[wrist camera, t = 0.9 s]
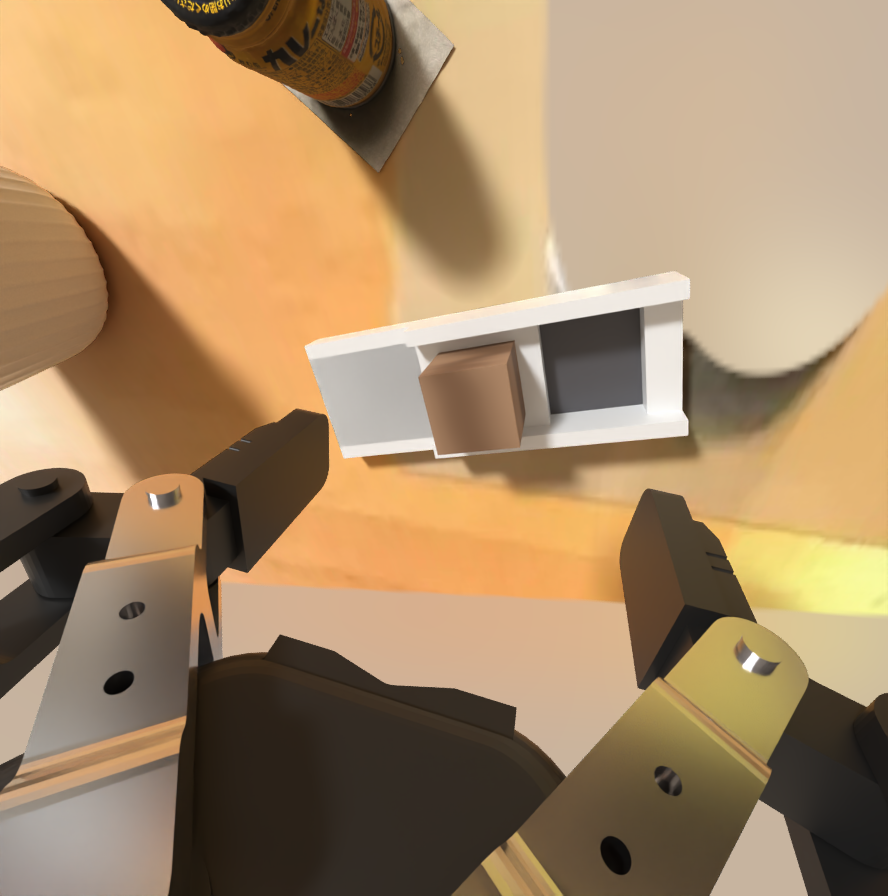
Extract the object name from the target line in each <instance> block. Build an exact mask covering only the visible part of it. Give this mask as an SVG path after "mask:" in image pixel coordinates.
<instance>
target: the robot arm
mask: <svg viewBox="0 0 888 896" xmlns="http://www.w3.org/2000/svg"><path fill="white" fill-rule="evenodd" d="M328 471H329V423H328V419H327V417H326V415H324V414H319V413H315V412H311V411H306V410H302V409H295V410H293V411H292V412H291V413H289V414H288V415H287V416H285V417H284V418H283V419H281V420H280V421H279V422H277V423H275V422H273V423H270V424H267V425H265V426H262V427H259V428H256V429H254V430H253V431H251V432H250V433H248V434H247V435H246V436H244V437H243V438H241V441H237V442H236V443H234V444H233V445H231V446H230V448H229V449H226V450H224V451H223V452H222V453H220V454H219V455H217V456H216V457H214V458H213V459H212V460H210V461H209V462H207V463H206V464H205V465H203V466H202V467H200V468H199V469H198V470H196V471H195V472H193V473H192V474H190V475H187V474H180V473H172V474H163V475H157V476H153V477H150V478H147V479H144V480H142V481H140V482H138V483H136V484H134V485H133V486H131V487H130V488H129V489H128V490H127V491H126V492H125V493H98V492H90V490H89V487H88V484H87V481H86V478H85V476H84V475H83V474H82V473H81V472H79V471H77V470H74V469H68V468H51V469H43V470H37V471H33V472H29V473H26V474H23V475H20V476H17V477H15V478H13V479H11V480H8V481H6V482H5V483H3V484H1V485H0V572H1V571H3V570H4V569H6V568H7V567H9V566H10V565H12V564H13V563H15V562H16V561H17V560H19V559H20V560H21V562H22V564H23V566H24V568H25V570H26V572H27V574H28V577H29V579H28V580H27V581H26V582H24V583H23V584H22V585H20V586H19V587H18V588H16V589H15V590H14V591H12V592H11V593H9V594H8V595H7V596H6V597H4V598H3V599H2V600H0V699H1V698H2V697H3V696H4V695H5V694H6V693H7V692H8V691H9V690H10V689H12V688H13V687H14V686H15V685H16V684H17V683H18V682H19V681H20V680H21V679H22V678H23V677H24V676H26V674H28V673H29V672H30V671H31V670H32V669H33V668H34V667H35V666H36V665H37V664H39V663H40V662H41V661H42V660H43V659H44V658H45V657H46V656H47V655H48V654H49V653H50V652H52V651H53V650H54V649H55V648H56V647H57V646H58V645H59V648H58V651H57V654H56V657H55V660H54V663H53V666H52V669H51V673H50V676H49V679H48V682H47V685H46V688H45V691H44V694H43V698H42V701H41V704H40V707H39V710H38V713H37V716H36V720H35V723H34V726H33V729H32V732H31V735H30V738H29V741H28V745H27V748H26V751H25V753H23V754H21V755H19V756H17V757H15V758H13V759H11V760H9V761H7V762H5V763H3V764H1V765H0V896H710V894H711V892H712V890H713V888H714V886H715V884H716V882H717V880H718V878H719V876H720V874H721V872H722V870H723V868H724V866H725V864H726V862H727V860H728V858H729V856H730V854H731V852H732V851H733V848H734V847H735V845H736V843H737V841H738V839H739V837H740V835H741V833H742V831H743V829H744V827H745V825H746V823H747V821H748V819H749V817H750V815H751V813H752V811H753V809H754V807H755V805H756V803H757V801H758V800H761V801H762V802H764V803H765V804H767V805H769V806H770V807H772V808H773V809H775V810H777V811H778V812H780V813H781V814H783V815H784V818H785V821H786V824H787V827H788V831H789V833H790V837H791V840H792V844H793V847H794V850H795V854H796V857H797V860H798V864H799V867H800V870H801V873H802V877H803V880H804V883H805V887H806V890H807V893H808V896H888V693H884V694H882V695H879V696H878V697H877V698H876V699H875V700H874V701H873V702H872V703H871V704H870V705H869V706H868V707H865V706H863V705H861V704H859V703H857V702H855V701H853V700H851V699H849V698H847V697H845V696H843V695H841V694H839V693H837V692H835V691H833V690H831V689H829V688H827V687H825V686H823V685H821V684H819V683H817V682H815V681H813V680H812V679H810V678H809V677H808V673H807V670H806V667H805V665H804V663H803V662H802V660H801V659H800V657H799V656H798V655H797V654H796V652H795V651H794V650H793V649H792V648H791V647H790V646H789V645H788V644H787V643H786V642H785V641H783V640H782V639H781V638H780V637H778V636H777V635H776V634H774V633H773V632H771V631H770V630H768V629H766V628H765V627H763V626H761V625H759V624H757V622H756V619H755V617H754V615H753V613H752V611H751V608H750V606H749V604H748V602H747V600H746V597H745V595H744V593H743V591H742V589H741V586H740V584H739V582H738V580H737V578H736V576H735V575H733V572H734V571H733V569H732V567H731V565H730V562H729V560H726V559H727V556H726V554H725V551H724V549H723V547H722V545H721V543H720V540H719V539H718V538H717V537H716V536H715V535H714V534H713V533H712V532H711V531H710V530H709V529H708V528H707V527H706V526H705V525H704V523H702V522H698V521H694V520H693V519H692V517H691V515H690V512H689V510H688V507H687V505H686V502H685V500H684V498H683V497H682V496H680V495H675V494H671V493H666V492H662V491H658V490H653V489H646V490H645V491H644V493H643V495H642V497H641V499H640V501H639V504H638V506H637V508H636V511H635V513H634V515H633V518H632V520H631V523H630V525H629V527H628V530H627V532H626V535H625V537H624V540H623V543H622V546H621V552H620V570H621V576H622V583H623V590H624V597H625V604H626V610H627V617H628V623H629V631H630V638H631V645H632V652H633V658H634V666H635V672H636V679H637V686H638V688H640V689H644V690H645V691H644V692H643V694H642V695H641V696H640V697H639V698H638V699H637V700H636V701H635V702H634V703H633V705H632V706H631V707H630V708H629V709H628V710H627V711H626V712H625V713H624V714H623V716H622V717H621V718H620V719H619V720H618V721H617V722H616V723H615V724H614V725H613V727H612V728H611V729H610V730H609V731H608V732H607V733H606V734H605V735H604V736H603V738H602V739H601V740H600V741H599V742H598V743H597V744H596V745H595V746H594V747H593V748H592V749H591V751H590V752H589V753H588V754H587V755H586V756H585V757H584V758H583V759H582V761H581V762H580V763H579V764H578V765H577V766H576V767H575V768H574V769H573V770H572V771H571V773H570V774H569V775H568V776H567V777H566V776H565V775H564V774H563V772H562V771H561V770H560V769H559V768H558V767H557V765H556V764H555V763H554V762H553V761H552V760H551V758H549V757H548V756H547V755H546V754H545V753H544V752H543V751H542V750H541V749H540V748H539V747H538V746H537V745H535V744H534V743H533V742H532V741H530V740H529V739H528V738H527V737H525V736H524V735H522V734H521V733H519V732H518V731H516V730H515V729H514V728H515V727H514V726H515V717H516V707H513V706H510V705H506V704H503V703H500V702H497V701H493V700H490V699H487V698H484V697H481V696H477V695H474V694H471V693H468V692H464V691H461V690H458V689H454V688H453V689H452V688H435V687H416V686H415V687H414V686H396V685H389V684H386V683H384V682H382V681H380V680H379V679H377V678H376V677H374V676H372V675H370V674H369V673H368V672H366V671H365V670H363V669H361V668H360V667H358V666H357V665H355V664H354V663H352V662H350V661H349V660H347V659H346V658H344V657H343V656H341V655H339V654H338V653H336V652H335V651H332V650H329V649H325V648H322V647H319V646H316V645H312V644H309V643H306V642H303V641H300V640H296V639H293V638H289V637H287V636H283V635H279V637H278V638H277V640H276V641H275V643H274V644H273V646H272V647H271V649H270V650H269V652H268V653H267V652H261V653H260V652H259V653H246V654H241V655H234V656H230V657H226V658H223V656H222V606H221V605H222V604H221V580H220V575H221V574H222V573H223V571H224V570H225V569H226V568H227V567H229V568H232V569H236V570H239V571H243V572H246V573H248V572H249V571H250V570H251V569H252V567H253V566H254V565H255V564H256V563H257V562H258V561H259V559H260V558H261V557H262V556H263V555H264V554H265V553H266V551H267V550H268V549H269V548H270V547H271V546H272V545H273V543H274V542H275V541H276V540H277V539H278V538H279V537H280V535H281V534H282V533H283V532H284V531H285V530H286V529H287V527H288V526H289V525H290V524H291V523H292V522H293V521H294V519H295V518H296V517H297V516H298V515H299V514H300V513H301V511H302V510H303V509H304V508H305V507H306V506H307V505H308V503H309V502H310V501H311V500H312V499H313V498H314V497H315V495H316V494H317V493H318V492H319V491H320V490H321V488H322V487H323V485H324V484H325V481H326V479H327V475H328Z"/></svg>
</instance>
